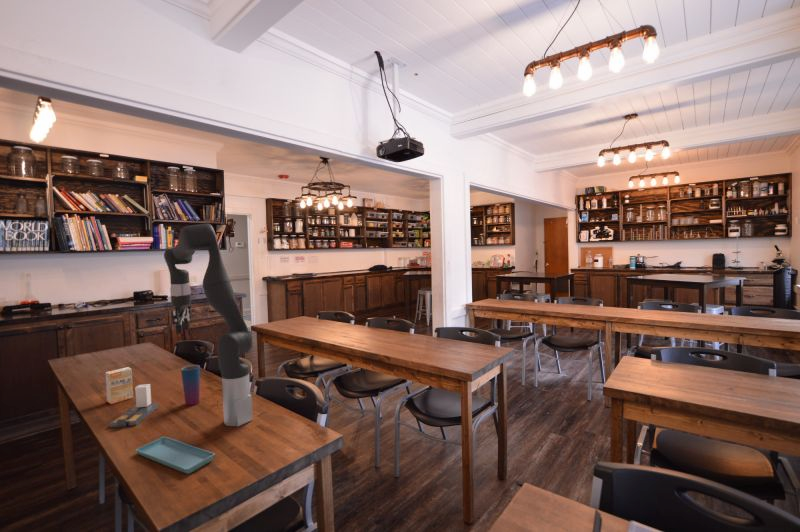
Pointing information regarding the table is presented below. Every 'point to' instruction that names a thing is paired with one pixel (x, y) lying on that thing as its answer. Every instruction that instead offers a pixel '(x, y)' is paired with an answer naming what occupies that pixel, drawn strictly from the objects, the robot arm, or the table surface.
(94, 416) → the table surface
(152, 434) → the table surface
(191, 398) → the cup
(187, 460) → the rectangular tray
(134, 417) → the console
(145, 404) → the fader knob
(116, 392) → the supplement box
